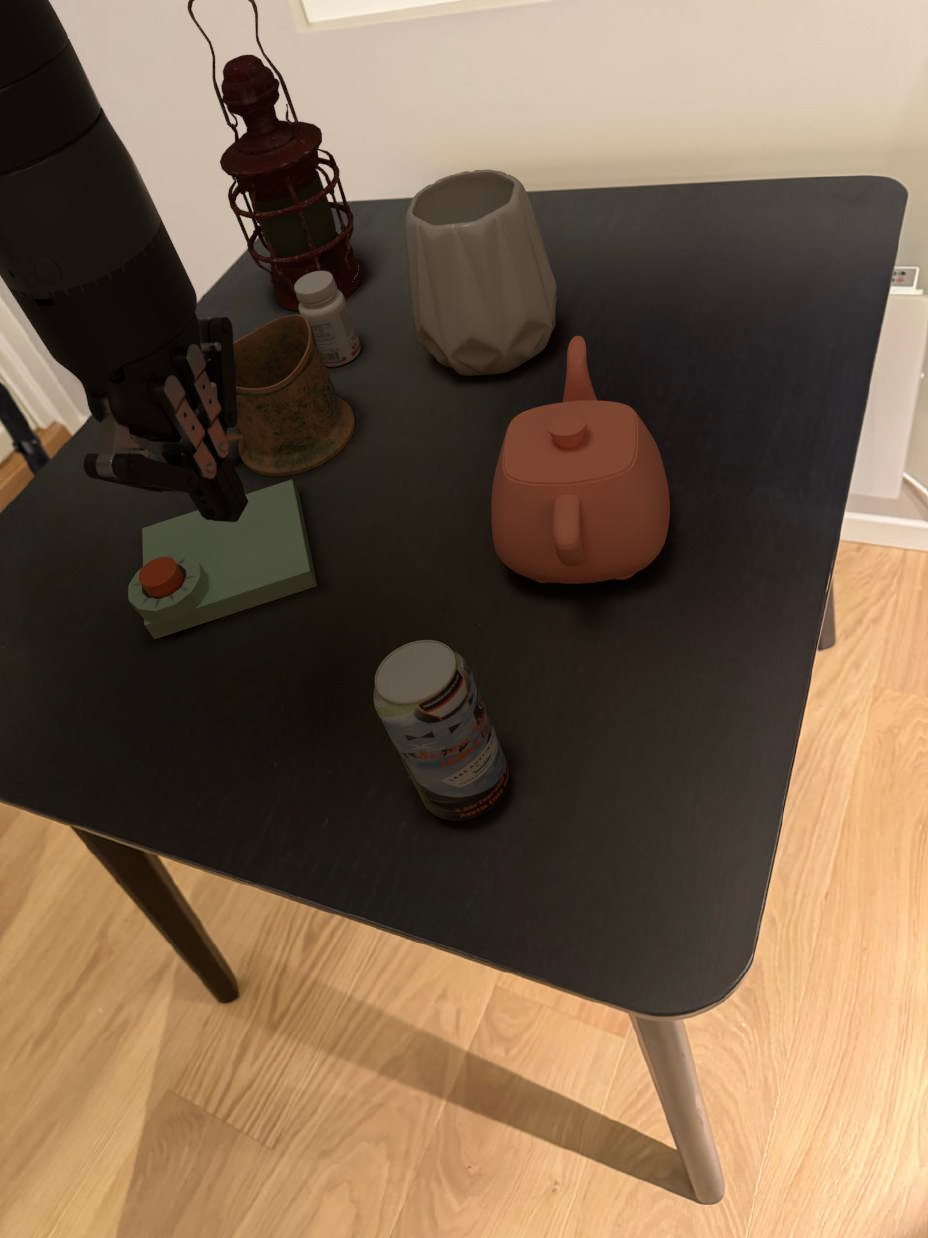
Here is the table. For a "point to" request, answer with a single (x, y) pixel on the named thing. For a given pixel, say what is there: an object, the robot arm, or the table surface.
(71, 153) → the robot arm
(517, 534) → the teapot
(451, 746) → the beverage can
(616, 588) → the table surface
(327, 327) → the pill bottle
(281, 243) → the lantern
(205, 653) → the table surface
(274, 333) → the mug
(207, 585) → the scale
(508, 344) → the vase
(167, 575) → the button
